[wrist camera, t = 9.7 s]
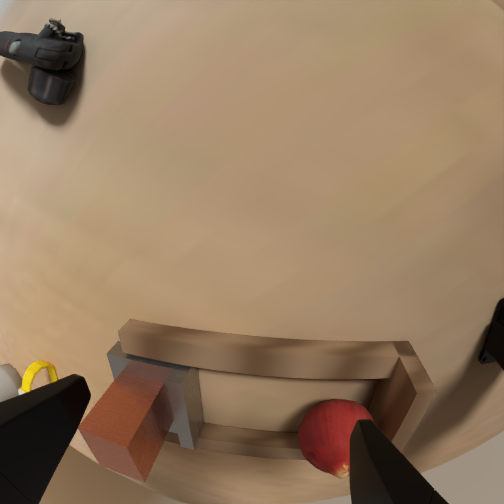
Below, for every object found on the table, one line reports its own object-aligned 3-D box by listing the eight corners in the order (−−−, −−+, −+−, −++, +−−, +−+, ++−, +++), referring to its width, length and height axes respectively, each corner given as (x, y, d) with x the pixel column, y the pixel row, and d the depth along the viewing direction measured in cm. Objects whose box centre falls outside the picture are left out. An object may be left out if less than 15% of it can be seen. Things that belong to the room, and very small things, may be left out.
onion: (335, 429, 22) (341, 499, 14) (285, 409, 22) (279, 485, 14) (379, 392, 20) (399, 465, 13) (328, 367, 20) (338, 449, 13)
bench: (408, 340, 19) (436, 390, 13) (366, 442, 22) (374, 488, 17) (130, 319, 21) (89, 359, 16) (154, 422, 25) (133, 463, 19)
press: (196, 356, 21) (152, 442, 12) (203, 423, 23) (176, 498, 15) (118, 341, 22) (58, 406, 13) (136, 407, 24) (97, 470, 16)
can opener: (113, 42, 16) (71, 18, 10) (70, 116, 18) (20, 110, 12) (29, 15, 15) (-3, 4, 9) (0, 67, 17) (-34, 62, 11)
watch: (42, 350, 25) (11, 372, 20) (57, 359, 25) (26, 384, 19) (50, 386, 27) (24, 410, 21) (65, 395, 27) (39, 421, 21)
